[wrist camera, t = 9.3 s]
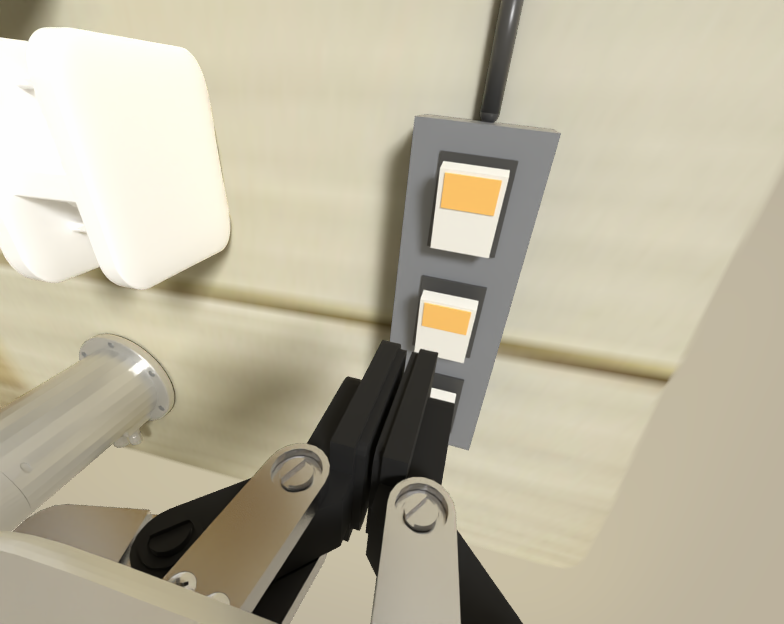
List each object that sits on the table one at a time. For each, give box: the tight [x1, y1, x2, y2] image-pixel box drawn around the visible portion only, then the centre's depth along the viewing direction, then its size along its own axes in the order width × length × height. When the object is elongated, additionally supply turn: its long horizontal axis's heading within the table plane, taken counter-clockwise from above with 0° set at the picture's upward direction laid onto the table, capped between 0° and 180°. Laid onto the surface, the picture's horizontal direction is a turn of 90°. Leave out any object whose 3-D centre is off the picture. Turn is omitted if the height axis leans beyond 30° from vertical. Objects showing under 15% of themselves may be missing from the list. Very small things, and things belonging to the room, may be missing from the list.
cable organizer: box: [0, 27, 230, 290], centre depth 27 cm, size 15×11×12 cm
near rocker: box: [430, 161, 510, 258], centre depth 22 cm, size 5×4×1 cm
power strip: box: [390, 0, 561, 450], centre depth 26 cm, size 34×8×5 cm, turn 174°
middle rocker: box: [414, 290, 478, 363], centre depth 26 cm, size 5×4×1 cm
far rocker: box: [430, 388, 456, 403], centre depth 30 cm, size 5×4×1 cm
